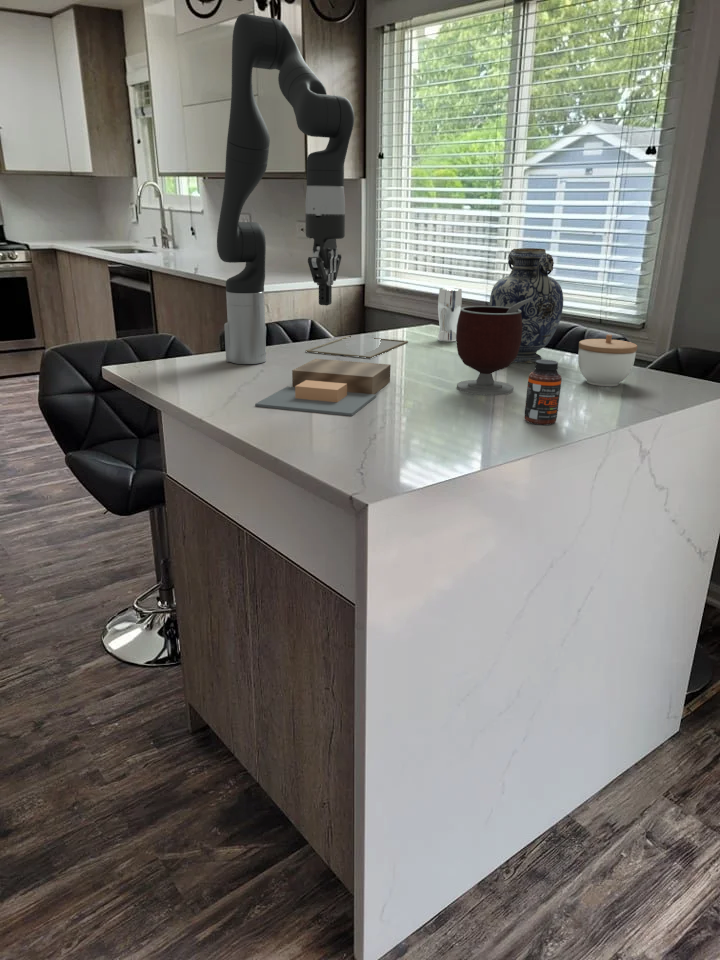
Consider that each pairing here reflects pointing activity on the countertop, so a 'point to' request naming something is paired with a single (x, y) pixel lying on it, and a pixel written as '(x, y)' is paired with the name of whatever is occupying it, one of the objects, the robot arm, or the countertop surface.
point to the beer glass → (449, 313)
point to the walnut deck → (345, 374)
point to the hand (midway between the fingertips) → (325, 304)
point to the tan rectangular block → (321, 391)
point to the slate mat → (316, 402)
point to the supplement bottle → (543, 393)
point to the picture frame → (340, 349)
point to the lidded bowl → (606, 360)
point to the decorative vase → (526, 284)
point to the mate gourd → (488, 344)
